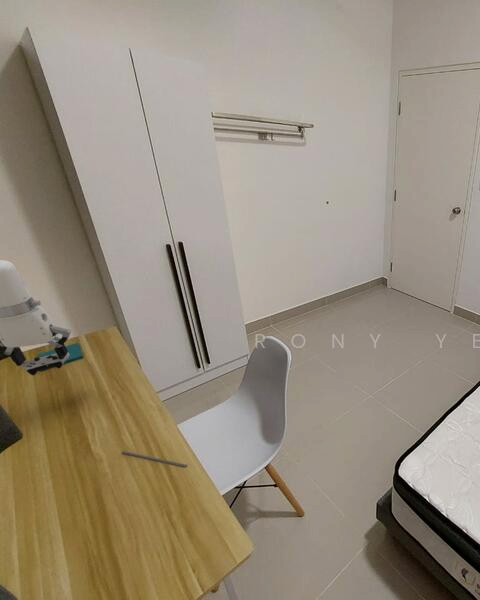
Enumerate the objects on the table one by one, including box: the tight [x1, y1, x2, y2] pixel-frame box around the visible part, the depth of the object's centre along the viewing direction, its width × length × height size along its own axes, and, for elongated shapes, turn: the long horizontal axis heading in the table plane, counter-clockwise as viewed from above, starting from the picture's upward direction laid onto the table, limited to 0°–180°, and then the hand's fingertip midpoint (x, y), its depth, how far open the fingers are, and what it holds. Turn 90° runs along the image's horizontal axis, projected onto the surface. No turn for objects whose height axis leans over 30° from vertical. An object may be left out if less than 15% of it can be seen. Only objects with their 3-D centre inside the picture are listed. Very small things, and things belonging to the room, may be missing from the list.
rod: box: [120, 450, 188, 469], centre depth 85 cm, size 1×19×1 cm, turn 80°
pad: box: [36, 342, 84, 372], centre depth 118 cm, size 11×11×1 cm
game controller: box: [21, 353, 70, 376], centre depth 94 cm, size 10×5×6 cm
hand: (43, 359), depth 94 cm, fingers closed on game controller, 8 cm apart
